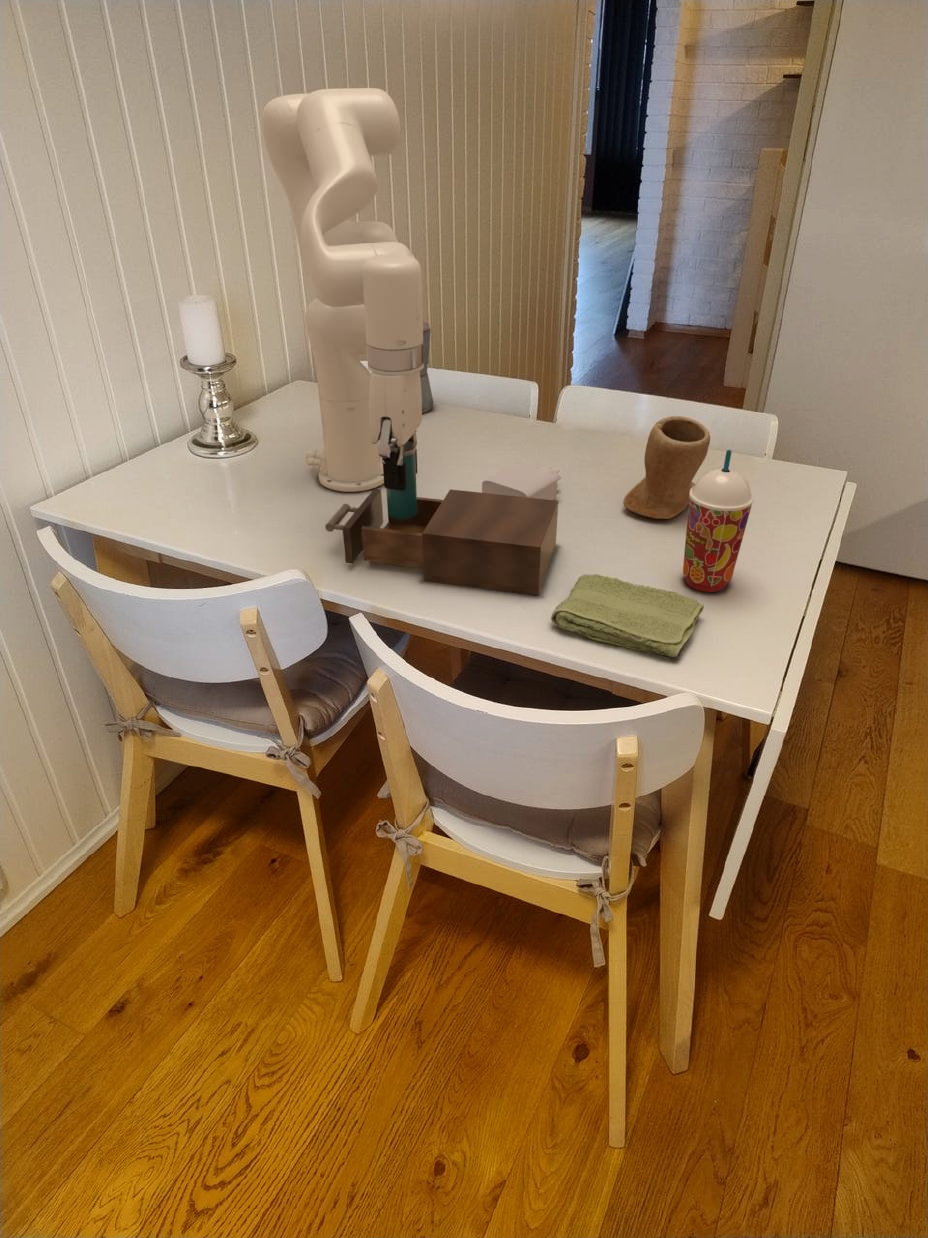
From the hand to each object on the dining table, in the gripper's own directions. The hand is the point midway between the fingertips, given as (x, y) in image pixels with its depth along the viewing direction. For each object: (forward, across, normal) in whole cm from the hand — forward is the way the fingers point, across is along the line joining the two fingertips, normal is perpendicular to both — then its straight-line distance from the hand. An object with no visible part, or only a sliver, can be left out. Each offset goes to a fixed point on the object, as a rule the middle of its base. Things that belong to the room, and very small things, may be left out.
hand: (401, 479), depth 122 cm
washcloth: (+11, +12, +35) cm, 39 cm away
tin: (+5, 0, 0) cm, 5 cm away
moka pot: (+13, -61, -18) cm, 65 cm away
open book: (+12, -23, +15) cm, 30 cm away
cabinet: (+12, +1, +14) cm, 18 cm away
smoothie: (+11, -1, +45) cm, 46 cm away
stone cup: (+12, -25, +38) cm, 47 cm away
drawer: (+11, +1, -1) cm, 11 cm away
